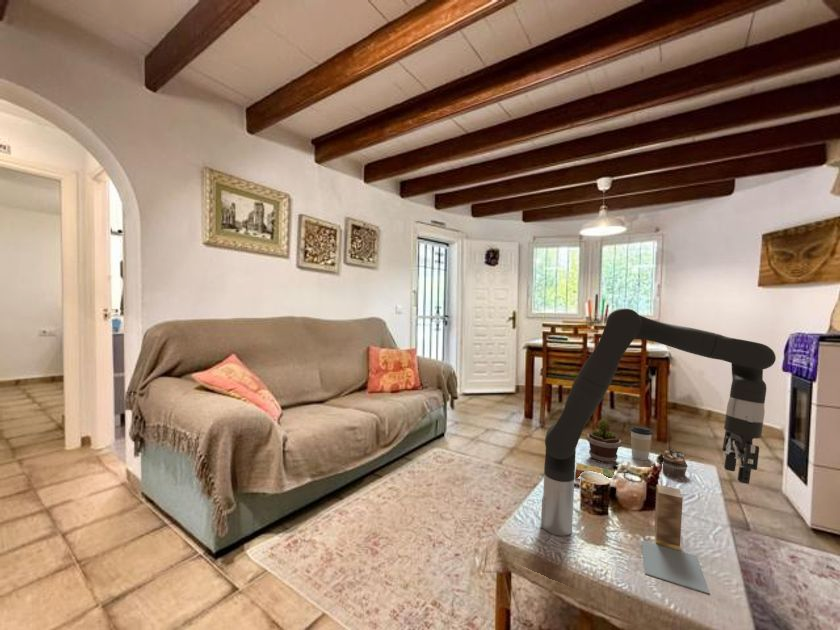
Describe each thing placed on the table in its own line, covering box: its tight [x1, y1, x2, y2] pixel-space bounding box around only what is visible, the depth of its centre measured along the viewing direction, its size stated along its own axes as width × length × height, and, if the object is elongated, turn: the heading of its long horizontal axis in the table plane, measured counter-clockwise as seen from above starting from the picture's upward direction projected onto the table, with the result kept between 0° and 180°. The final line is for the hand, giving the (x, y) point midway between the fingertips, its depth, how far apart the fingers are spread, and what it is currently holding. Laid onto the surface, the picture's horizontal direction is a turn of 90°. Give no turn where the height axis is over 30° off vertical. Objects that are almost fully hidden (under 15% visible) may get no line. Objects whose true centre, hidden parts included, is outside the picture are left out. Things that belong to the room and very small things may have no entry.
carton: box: [574, 462, 615, 479], centre depth 155 cm, size 8×16×4 cm, turn 65°
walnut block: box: [653, 484, 684, 551], centre depth 114 cm, size 6×6×16 cm
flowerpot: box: [585, 417, 623, 464], centre depth 175 cm, size 14×15×20 cm
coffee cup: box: [630, 424, 653, 461], centre depth 179 cm, size 9×9×15 cm
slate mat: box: [640, 540, 711, 595], centre depth 104 cm, size 14×16×1 cm
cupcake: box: [662, 448, 688, 479], centre depth 162 cm, size 10×10×10 cm
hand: (735, 476), depth 98 cm, fingers open, 8 cm apart
